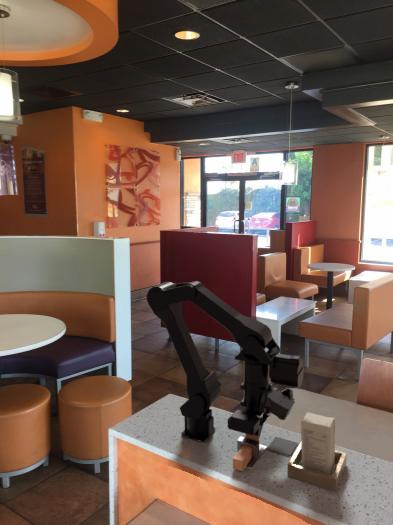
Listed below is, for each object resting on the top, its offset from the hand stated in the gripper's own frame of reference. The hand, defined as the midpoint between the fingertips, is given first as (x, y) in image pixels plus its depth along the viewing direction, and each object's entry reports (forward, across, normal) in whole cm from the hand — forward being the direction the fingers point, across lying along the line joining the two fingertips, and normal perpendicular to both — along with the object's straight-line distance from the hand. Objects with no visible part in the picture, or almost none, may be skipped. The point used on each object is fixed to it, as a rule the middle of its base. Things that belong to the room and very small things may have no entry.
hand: (255, 441), depth 104 cm
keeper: (+1, -3, 0) cm, 4 cm away
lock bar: (+2, -5, 0) cm, 6 cm away
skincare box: (+2, -2, -15) cm, 15 cm away
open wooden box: (+2, -2, -15) cm, 15 cm away
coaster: (+2, +3, -6) cm, 6 cm away
